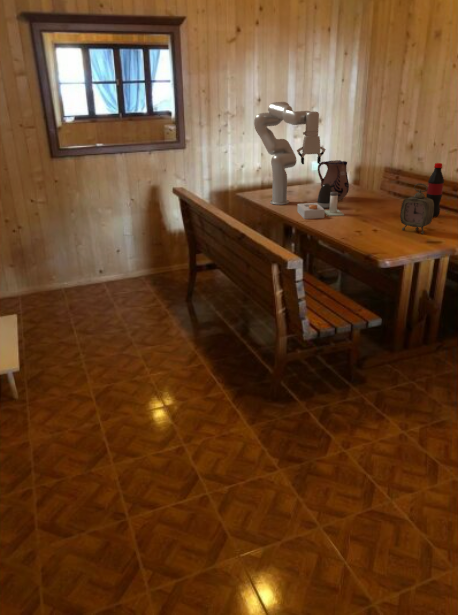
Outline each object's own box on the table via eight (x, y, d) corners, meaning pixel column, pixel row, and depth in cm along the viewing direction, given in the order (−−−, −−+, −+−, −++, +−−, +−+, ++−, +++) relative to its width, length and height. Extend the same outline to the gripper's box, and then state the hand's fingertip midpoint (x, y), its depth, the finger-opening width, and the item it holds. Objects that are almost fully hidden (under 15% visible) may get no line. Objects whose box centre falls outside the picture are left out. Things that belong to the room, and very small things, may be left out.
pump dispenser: (333, 209, 316) (334, 184, 310) (316, 209, 318) (317, 184, 312) (333, 205, 325) (335, 181, 319) (317, 205, 327) (318, 181, 321)
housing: (297, 211, 313) (297, 203, 311) (316, 210, 314) (316, 202, 312) (304, 218, 296) (304, 210, 294) (324, 217, 297) (324, 209, 295)
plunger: (307, 214, 302) (307, 204, 300) (315, 214, 303) (316, 204, 300) (309, 216, 298) (309, 206, 295) (317, 216, 298) (318, 206, 296)
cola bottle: (438, 214, 298) (446, 162, 285) (439, 217, 290) (447, 164, 278) (423, 213, 300) (430, 161, 288) (423, 217, 293) (430, 164, 281)
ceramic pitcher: (350, 201, 334) (353, 162, 324) (318, 202, 335) (320, 163, 325) (345, 196, 350) (347, 159, 340) (314, 196, 351) (316, 159, 341)
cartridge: (328, 211, 308) (329, 191, 303) (335, 211, 308) (336, 191, 303) (330, 213, 304) (331, 193, 299) (337, 212, 304) (338, 193, 299)
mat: (322, 211, 311) (322, 210, 311) (338, 210, 312) (338, 209, 312) (327, 216, 300) (327, 215, 300) (344, 215, 301) (344, 214, 301)
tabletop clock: (398, 230, 269) (403, 183, 259) (406, 227, 275) (412, 180, 264) (424, 235, 259) (431, 186, 249) (432, 231, 265) (439, 183, 255)
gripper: (298, 135, 293) (298, 165, 300) (327, 134, 295) (326, 164, 302) (296, 134, 300) (295, 163, 307) (324, 132, 302) (322, 162, 309)
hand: (310, 163), depth 305 cm, fingers open, 9 cm apart
